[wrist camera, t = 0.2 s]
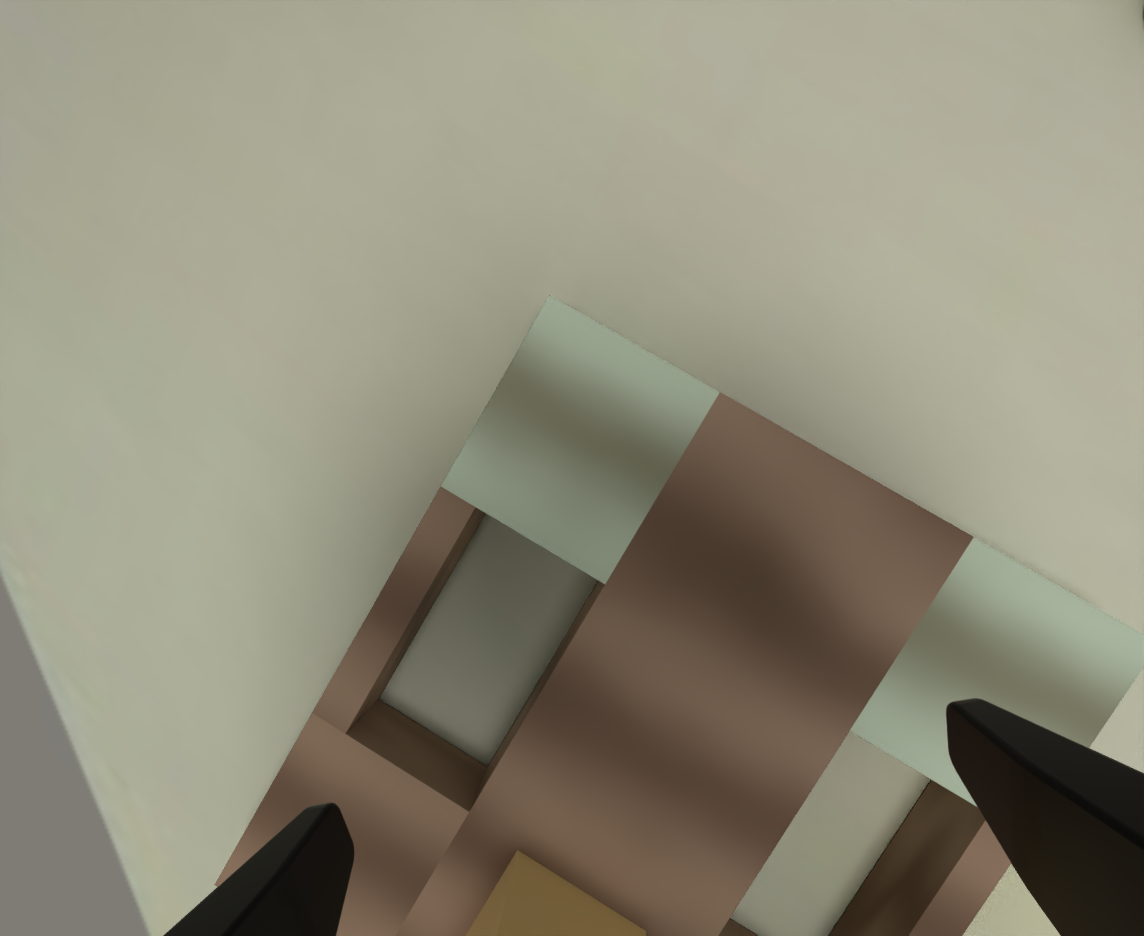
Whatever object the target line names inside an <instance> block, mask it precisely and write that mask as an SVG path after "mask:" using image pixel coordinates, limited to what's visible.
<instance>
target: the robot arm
mask: <svg viewBox="0 0 1144 936" xmlns="http://www.w3.org/2000/svg"><path fill="white" fill-rule="evenodd" d="M946 723H947V739H948V752H949V756H950V759H951V762H952V764H953V766H954V769H955V770H956V772H957V774H958V775H959V777H960V779H961V780H962V782H963V784H964V785H965V787H966V789H967V790H968V792H969V794H970V795H971V797H972V799H973V800H974V802H975V804H976V805H977V807H978V809H979V810H980V812H981V814H982V815H983V817H984V819H985V820H986V822H987V824H988V825H989V827H990V829H991V830H992V832H993V834H994V835H995V837H996V839H997V840H998V842H999V843H1000V845H1001V847H1002V848H1003V850H1004V852H1005V853H1006V855H1007V857H1008V858H1009V860H1010V862H1011V863H1012V865H1013V867H1014V868H1015V870H1016V871H1017V873H1018V875H1019V876H1020V878H1021V879H1022V881H1023V883H1024V884H1025V886H1026V887H1027V889H1028V890H1029V892H1030V893H1031V895H1032V896H1033V897H1034V899H1035V900H1036V902H1037V903H1038V905H1039V906H1040V907H1041V909H1042V910H1043V912H1044V913H1045V914H1046V916H1047V917H1048V918H1049V920H1050V921H1051V923H1052V924H1053V925H1054V927H1055V928H1056V929H1057V931H1058V932H1059V934H1060V935H1061V936H1144V773H1142V772H1140V771H1138V770H1136V769H1133V768H1131V767H1129V766H1127V765H1125V764H1122V763H1120V762H1118V761H1116V760H1114V759H1112V758H1109V757H1107V756H1105V755H1103V754H1101V753H1099V752H1096V751H1094V750H1092V749H1090V748H1088V747H1086V746H1083V745H1081V744H1079V743H1077V742H1075V741H1072V740H1070V739H1068V738H1066V737H1064V736H1062V735H1059V734H1057V733H1055V732H1053V731H1051V730H1049V729H1046V728H1044V727H1042V726H1040V725H1038V724H1035V723H1033V722H1031V721H1029V720H1027V719H1025V718H1022V717H1020V716H1018V715H1016V714H1014V713H1012V712H1009V711H1007V710H1005V709H1003V708H1001V707H999V706H996V705H994V704H992V703H990V702H988V701H985V700H983V699H979V698H972V699H966V700H959V701H953V702H951V703H949V704H948V705H947V708H946ZM354 855H355V852H354V844H353V840H352V838H351V835H350V833H349V830H348V828H347V825H346V823H345V820H344V818H343V815H342V813H341V810H340V808H339V806H338V805H337V804H335V803H332V802H330V803H324V804H317V805H312V806H309V807H307V808H306V809H304V810H303V811H302V812H301V813H300V814H299V815H297V816H296V817H295V818H294V819H293V820H292V821H291V822H290V823H289V824H287V825H286V826H285V827H284V828H283V829H282V830H281V831H280V832H279V833H277V834H276V835H275V836H274V837H273V838H272V839H271V840H270V841H268V842H267V843H266V844H265V845H264V846H263V847H262V848H261V849H260V850H258V851H257V852H256V853H255V854H254V855H253V856H252V857H251V858H250V859H248V860H247V861H246V862H245V863H244V864H243V865H242V866H241V867H239V868H238V869H237V870H236V871H235V872H234V873H233V874H232V875H231V876H229V877H228V878H227V879H226V880H225V881H224V882H223V883H222V884H220V885H219V886H218V887H217V888H216V889H215V890H214V891H213V892H212V893H210V894H209V895H208V896H207V897H206V898H205V899H204V900H203V901H202V902H200V903H199V904H198V905H197V906H196V907H195V908H194V909H193V910H191V911H190V912H189V913H188V914H187V915H186V916H185V917H184V918H183V919H181V920H180V921H179V922H178V923H177V924H176V925H175V926H174V927H173V928H171V929H170V930H169V931H168V932H167V933H166V934H165V935H164V936H336V935H337V930H338V926H339V922H340V918H341V914H342V909H343V905H344V901H345V897H346V893H347V888H348V884H349V880H350V876H351V871H352V867H353V863H354Z"/></svg>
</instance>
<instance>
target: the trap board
mask: <svg viewBox="0 0 1144 936" xmlns="http://www.w3.org/2000/svg"><path fill="white" fill-rule="evenodd" d="M485 513H486V514H488V515H490V516H491V517H493V518H495V519H496V520H498V521H500V522H501V523H503V524H505V525H506V526H508V527H510V528H511V529H513V530H515V531H516V532H518V533H520V534H521V535H523V536H525V537H526V538H528V539H530V540H531V541H533V542H535V543H536V544H538V545H540V546H541V547H543V548H545V549H546V550H548V551H550V552H551V553H553V554H555V555H557V556H558V557H560V558H562V559H563V560H565V561H567V562H568V563H570V564H572V565H573V566H575V567H577V568H578V569H580V570H582V571H583V572H585V573H587V574H588V575H590V576H592V577H593V578H595V579H597V580H598V582H597V584H596V586H595V587H594V589H593V591H592V592H591V594H590V596H589V597H588V599H587V601H586V602H585V604H584V606H583V608H582V609H581V611H580V613H579V614H578V616H577V618H576V619H575V621H574V623H573V624H572V626H571V628H570V629H569V631H568V633H567V634H566V636H565V638H564V639H563V641H562V643H561V644H560V646H559V648H558V649H557V651H556V653H555V655H554V656H553V658H552V660H551V661H550V663H549V665H548V666H547V668H546V670H545V671H544V673H543V675H542V676H541V678H540V680H539V681H538V683H537V685H536V686H535V688H534V690H533V691H532V693H531V695H530V697H529V698H528V700H527V702H526V703H525V705H524V707H523V708H522V710H521V712H520V713H519V715H518V717H517V718H516V720H515V722H514V723H513V725H512V727H511V728H510V730H509V732H508V733H507V735H506V737H505V738H504V740H503V742H502V744H501V745H500V747H499V749H498V750H497V752H496V754H495V755H494V757H493V759H492V760H491V762H490V764H489V765H488V767H486V766H485V765H483V764H481V763H480V762H478V761H477V760H475V759H473V758H472V757H470V756H469V755H467V754H465V753H464V752H462V751H461V750H459V749H457V748H456V747H454V746H453V745H451V744H449V743H448V742H446V741H445V740H443V739H441V738H440V737H438V736H437V735H435V734H433V733H432V732H430V731H429V730H427V729H425V728H424V727H422V726H420V725H419V724H417V723H416V722H414V721H412V720H411V719H409V718H408V717H406V716H404V715H403V714H401V713H400V712H398V711H396V710H395V709H393V708H392V707H390V706H388V705H387V704H385V703H384V702H382V701H380V700H379V697H380V696H381V694H382V692H383V691H384V689H385V687H386V685H387V684H388V682H389V680H390V678H391V677H392V675H393V673H394V671H395V670H396V668H397V666H398V664H399V663H400V661H401V659H402V658H403V656H404V654H405V652H406V651H407V649H408V647H409V645H410V644H411V642H412V640H413V638H414V637H415V635H416V633H417V631H418V630H419V628H420V626H421V624H422V623H423V621H424V619H425V618H426V616H427V614H428V612H429V611H430V609H431V607H432V605H433V604H434V602H435V600H436V598H437V597H438V595H439V593H440V591H441V590H442V588H443V586H444V585H445V583H446V581H447V579H448V578H449V576H450V574H451V572H452V571H453V569H454V567H455V565H456V564H457V562H458V560H459V558H460V557H461V555H462V553H463V552H464V550H465V548H466V546H467V545H468V543H469V541H470V539H471V538H472V536H473V534H474V532H475V531H476V529H477V527H478V525H479V524H480V522H481V520H482V519H483V517H484V515H485ZM1143 667H1144V634H1142V633H1141V632H1139V631H1137V630H1135V629H1134V628H1132V627H1130V626H1128V625H1127V624H1125V623H1123V622H1121V621H1120V620H1118V619H1116V618H1114V617H1113V616H1111V615H1109V614H1107V613H1106V612H1104V611H1102V610H1100V609H1099V608H1097V607H1095V606H1093V605H1092V604H1090V603H1088V602H1086V601H1085V600H1083V599H1081V598H1079V597H1078V596H1076V595H1074V594H1072V593H1071V592H1069V591H1067V590H1065V589H1064V588H1062V587H1060V586H1058V585H1057V584H1055V583H1053V582H1051V581H1050V580H1048V579H1046V578H1044V577H1043V576H1041V575H1039V574H1037V573H1036V572H1034V571H1032V570H1030V569H1029V568H1027V567H1025V566H1023V565H1022V564H1020V563H1018V562H1016V561H1015V560H1013V559H1011V558H1009V557H1008V556H1006V555H1004V554H1002V553H1001V552H999V551H997V550H995V549H994V548H992V547H990V546H988V545H987V544H985V543H983V542H981V541H980V540H978V539H976V538H974V537H973V536H971V535H969V534H967V533H966V532H964V531H962V530H960V529H959V528H957V527H955V526H953V525H952V524H950V523H948V522H946V521H945V520H943V519H941V518H939V517H938V516H936V515H934V514H932V513H931V512H929V511H927V510H925V509H924V508H922V507H920V506H918V505H917V504H915V503H913V502H911V501H910V500H908V499H906V498H904V497H903V496H901V495H899V494H897V493H896V492H894V491H892V490H890V489H889V488H887V487H885V486H883V485H882V484H880V483H878V482H876V481H875V480H873V479H871V478H869V477H867V476H866V475H864V474H862V473H860V472H859V471H857V470H855V469H853V468H852V467H850V466H848V465H846V464H845V463H843V462H841V461H839V460H838V459H836V458H834V457H832V456H831V455H829V454H827V453H825V452H824V451H822V450H820V449H818V448H817V447H815V446H813V445H811V444H810V443H808V442H806V441H804V440H803V439H801V438H799V437H797V436H796V435H794V434H792V433H790V432H789V431H787V430H785V429H783V428H782V427H780V426H778V425H776V424H775V423H773V422H771V421H769V420H768V419H766V418H764V417H762V416H761V415H759V414H757V413H755V412H754V411H752V410H750V409H748V408H747V407H745V406H743V405H741V404H740V403H738V402H736V401H734V400H733V399H731V398H729V397H727V396H726V395H724V394H722V393H720V392H719V391H717V390H715V389H713V388H712V387H710V386H708V385H706V384H705V383H703V382H701V381H699V380H698V379H696V378H694V377H692V376H691V375H689V374H687V373H685V372H684V371H682V370H680V369H678V368H677V367H675V366H673V365H671V364H670V363H668V362H666V361H664V360H663V359H661V358H659V357H657V356H656V355H654V354H652V353H650V352H649V351H647V350H645V349H643V348H642V347H640V346H638V345H636V344H635V343H633V342H631V341H629V340H628V339H626V338H624V337H622V336H621V335H619V334H617V333H615V332H614V331H612V330H610V329H608V328H607V327H605V326H603V325H601V324H600V323H598V322H596V321H594V320H593V319H591V318H589V317H587V316H586V315H584V314H582V313H580V312H579V311H577V310H575V309H573V308H572V307H570V306H568V305H566V304H565V303H563V302H561V301H559V300H558V299H556V298H554V297H552V296H551V295H549V297H548V298H547V300H546V302H545V304H544V306H543V307H542V309H541V311H540V313H539V314H538V316H537V318H536V320H535V321H534V323H533V325H532V327H531V328H530V330H529V332H528V334H527V335H526V337H525V339H524V341H523V342H522V344H521V346H520V348H519V350H518V351H517V353H516V355H515V357H514V358H513V360H512V362H511V364H510V365H509V367H508V369H507V371H506V372H505V374H504V376H503V378H502V379H501V381H500V383H499V385H498V387H497V388H496V390H495V392H494V394H493V395H492V397H491V399H490V401H489V402H488V404H487V406H486V408H485V409H484V411H483V413H482V415H481V416H480V418H479V420H478V422H477V424H476V425H475V427H474V429H473V431H472V432H471V434H470V436H469V438H468V439H467V441H466V443H465V445H464V446H463V448H462V450H461V452H460V453H459V455H458V457H457V459H456V461H455V462H454V464H453V466H452V468H451V469H450V471H449V473H448V475H447V476H446V478H445V480H444V482H443V483H442V485H441V487H440V489H439V490H438V492H437V494H436V496H435V498H434V499H433V501H432V503H431V505H430V506H429V508H428V510H427V512H426V513H425V515H424V517H423V519H422V520H421V522H420V524H419V526H418V527H417V529H416V531H415V533H414V535H413V536H412V538H411V540H410V542H409V543H408V545H407V547H406V549H405V550H404V552H403V554H402V556H401V557H400V559H399V561H398V563H397V564H396V566H395V568H394V570H393V572H392V573H391V575H390V577H389V579H388V580H387V582H386V584H385V586H384V587H383V589H382V591H381V593H380V594H379V596H378V598H377V600H376V601H375V603H374V605H373V607H372V608H371V610H370V612H369V614H368V616H367V617H366V619H365V621H364V623H363V624H362V626H361V628H360V630H359V631H358V633H357V635H356V637H355V638H354V640H353V642H352V644H351V645H350V647H349V649H348V651H347V653H346V654H345V656H344V658H343V660H342V661H341V663H340V665H339V667H338V668H337V670H336V672H335V674H334V675H333V677H332V679H331V681H330V682H329V684H328V686H327V688H326V690H325V691H324V693H323V695H322V697H321V698H320V700H319V702H318V704H317V705H316V707H315V709H314V711H313V712H312V714H311V716H310V718H309V719H308V721H307V723H306V725H305V727H304V728H303V730H302V732H301V734H300V735H299V737H298V739H297V741H296V742H295V744H294V746H293V748H292V749H291V751H290V753H289V755H288V756H287V758H286V760H285V762H284V764H283V765H282V767H281V769H280V771H279V772H278V774H277V776H276V778H275V779H274V781H273V783H272V785H271V786H270V788H269V790H268V792H267V793H266V795H265V797H264V799H263V801H262V802H261V804H260V806H259V808H258V809H257V811H256V813H255V815H254V816H253V818H252V820H251V822H250V823H249V825H248V827H247V829H246V830H245V832H244V834H243V836H242V838H241V839H240V841H239V843H238V845H237V846H236V848H235V850H234V852H233V853H232V855H231V857H230V859H229V860H228V862H227V864H226V866H225V867H224V869H223V871H222V873H221V875H220V876H219V878H218V880H217V882H216V883H215V885H216V886H217V887H218V886H219V885H220V884H222V883H223V882H224V881H225V880H226V879H227V878H228V877H229V876H231V875H232V874H233V873H234V872H235V871H236V870H237V869H238V868H239V867H241V866H242V865H243V864H244V863H245V862H246V861H247V860H248V859H250V858H251V857H252V856H253V855H254V854H255V853H256V852H257V851H258V850H260V849H261V848H262V847H263V846H264V845H265V844H266V843H267V842H268V841H270V840H271V839H272V838H273V837H274V836H275V835H276V834H277V833H279V832H280V831H281V830H282V829H283V828H284V827H285V826H286V825H287V824H289V823H290V822H291V821H292V820H293V819H294V818H295V817H296V816H297V815H299V814H300V813H301V812H302V811H303V810H304V809H306V808H307V807H309V806H312V805H317V804H324V803H330V802H332V803H335V804H337V805H338V806H339V808H340V810H341V813H342V815H343V818H344V820H345V823H346V825H347V828H348V830H349V833H350V835H351V838H352V840H353V844H354V852H355V855H354V863H353V867H352V871H351V876H350V880H349V884H348V888H347V893H346V897H345V901H344V905H343V909H342V914H341V918H340V922H339V926H338V930H337V935H336V936H466V934H467V933H468V931H469V929H470V928H471V926H472V924H473V923H474V921H475V919H476V918H477V916H478V914H479V913H480V911H481V910H482V908H483V906H484V905H485V903H486V901H487V900H488V898H489V896H490V895H491V893H492V891H493V890H494V888H495V886H496V885H497V883H498V882H499V880H500V878H501V877H502V875H503V873H504V872H505V870H506V868H507V867H508V865H509V863H510V862H511V860H512V858H513V857H514V855H515V853H516V852H517V850H518V851H520V852H522V853H523V854H525V855H526V856H528V857H530V858H531V859H533V860H534V861H536V862H537V863H539V864H541V865H542V866H544V867H545V868H547V869H549V870H550V871H552V872H553V873H555V874H556V875H558V876H560V877H561V878H563V879H564V880H566V881H568V882H569V883H571V884H572V885H574V886H575V887H577V888H579V889H580V890H582V891H583V892H585V893H587V894H588V895H590V896H591V897H593V898H595V899H596V900H598V901H599V902H601V903H602V904H604V905H606V906H607V907H609V908H610V909H612V910H614V911H615V912H617V913H618V914H620V915H621V916H623V917H625V918H626V919H628V920H629V921H631V922H633V923H634V924H636V925H637V926H639V927H640V928H642V929H644V930H645V931H646V936H757V935H755V934H754V933H752V932H751V931H749V930H747V929H746V928H744V927H743V926H741V925H739V924H738V923H736V922H735V921H733V920H731V919H730V917H731V915H732V913H733V912H734V910H735V909H736V907H737V906H738V904H739V903H740V901H741V899H742V898H743V896H744V895H745V893H746V892H747V890H748V889H749V887H750V885H751V884H752V882H753V881H754V879H755V878H756V876H757V874H758V873H759V871H760V870H761V868H762V867H763V865H764V864H765V862H766V860H767V859H768V857H769V856H770V854H771V853H772V851H773V850H774V848H775V846H776V845H777V843H778V842H779V840H780V839H781V837H782V835H783V834H784V832H785V831H786V829H787V828H788V826H789V825H790V823H791V821H792V820H793V818H794V817H795V815H796V814H797V812H798V811H799V809H800V807H801V806H802V804H803V803H804V801H805V800H806V798H807V797H808V795H809V793H810V792H811V790H812V789H813V787H814V786H815V784H816V782H817V781H818V779H819V778H820V776H821V775H822V773H823V772H824V770H825V768H826V767H827V765H828V764H829V762H830V761H831V759H832V758H833V756H834V754H835V753H836V751H837V750H838V748H839V747H840V745H841V743H842V742H843V740H844V739H845V737H846V736H847V734H848V733H849V731H851V732H853V733H854V734H856V735H858V736H859V737H861V738H863V739H864V740H866V741H868V742H869V743H871V744H873V745H874V746H876V747H878V748H879V749H881V750H883V751H884V752H886V753H888V754H889V755H891V756H893V757H894V758H896V759H898V760H900V761H901V762H903V763H905V764H906V765H908V766H910V767H911V768H913V769H915V770H916V771H918V772H920V773H921V774H923V775H925V776H926V777H928V778H930V779H931V781H930V783H929V784H928V786H927V787H926V789H925V790H924V792H923V794H922V795H921V797H920V798H919V800H918V801H917V803H916V804H915V806H914V807H913V809H912V810H911V812H910V813H909V815H908V816H907V818H906V819H905V821H904V822H903V824H902V825H901V827H900V829H899V830H898V832H897V833H896V835H895V836H894V838H893V839H892V841H891V842H890V844H889V845H888V847H887V848H886V850H885V851H884V853H883V854H882V856H881V857H880V859H879V861H878V862H877V864H876V865H875V867H874V868H873V870H872V871H871V873H870V874H869V876H868V877H867V879H866V880H865V882H864V883H863V885H862V886H861V888H860V889H859V891H858V892H857V894H856V896H855V897H854V899H853V900H852V902H851V903H850V905H849V906H848V908H847V909H846V911H845V912H844V914H843V915H842V917H841V918H840V920H839V921H838V923H837V924H836V926H835V928H834V929H833V931H832V932H831V934H830V935H829V936H962V935H963V934H964V932H965V931H966V929H967V928H968V926H969V925H970V923H971V922H972V920H973V919H974V917H975V916H976V914H977V913H978V912H979V910H980V909H981V907H982V906H983V904H984V903H985V901H986V900H987V898H988V897H989V895H990V894H991V892H992V891H993V889H994V888H995V886H996V885H997V883H998V882H999V880H1000V879H1001V877H1002V876H1003V874H1004V873H1005V872H1006V870H1007V869H1008V867H1009V866H1010V864H1011V862H1010V860H1009V858H1008V857H1007V855H1006V853H1005V852H1004V850H1003V848H1002V847H1001V845H1000V843H999V842H998V840H997V839H996V837H995V835H994V834H993V832H992V830H991V829H990V827H989V825H988V824H987V822H986V820H985V819H984V817H983V815H982V814H981V812H980V810H979V809H978V807H977V805H976V804H975V802H974V800H973V799H972V797H971V795H970V794H969V792H968V790H967V789H966V787H965V785H964V784H963V782H962V780H961V779H960V777H959V775H958V774H957V772H956V770H955V769H954V766H953V764H952V762H951V759H950V756H949V752H948V739H947V723H946V708H947V705H948V704H949V703H951V702H953V701H959V700H966V699H972V698H979V699H983V700H985V701H988V702H990V703H992V704H994V705H996V706H999V707H1001V708H1003V709H1005V710H1007V711H1009V712H1012V713H1014V714H1016V715H1018V716H1020V717H1022V718H1025V719H1027V720H1029V721H1031V722H1033V723H1035V724H1038V725H1040V726H1042V727H1044V728H1046V729H1049V730H1051V731H1053V732H1055V733H1057V734H1059V735H1062V736H1064V737H1066V738H1068V739H1070V740H1072V741H1075V742H1077V743H1079V744H1081V745H1083V746H1086V747H1088V748H1089V747H1090V746H1091V744H1092V743H1093V741H1094V740H1095V738H1096V737H1097V735H1098V734H1099V732H1100V731H1101V729H1102V728H1103V726H1104V725H1105V723H1106V722H1107V720H1108V719H1109V717H1110V716H1111V714H1112V713H1113V712H1114V710H1115V709H1116V707H1117V706H1118V704H1119V703H1120V701H1121V700H1122V698H1123V697H1124V695H1125V694H1126V692H1127V691H1128V689H1129V688H1130V686H1131V685H1132V683H1133V682H1134V680H1135V679H1136V677H1137V676H1138V674H1139V673H1140V672H1141V670H1142V669H1143Z"/></svg>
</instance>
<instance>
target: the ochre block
mask: <svg viewBox="0 0 1144 936" xmlns="http://www.w3.org/2000/svg"><path fill="white" fill-rule="evenodd" d="M466 936H646V931H645V930H644V929H642V928H640V927H639V926H637V925H636V924H634V923H633V922H631V921H629V920H628V919H626V918H625V917H623V916H621V915H620V914H618V913H617V912H615V911H614V910H612V909H610V908H609V907H607V906H606V905H604V904H602V903H601V902H599V901H598V900H596V899H595V898H593V897H591V896H590V895H588V894H587V893H585V892H583V891H582V890H580V889H579V888H577V887H575V886H574V885H572V884H571V883H569V882H568V881H566V880H564V879H563V878H561V877H560V876H558V875H556V874H555V873H553V872H552V871H550V870H549V869H547V868H545V867H544V866H542V865H541V864H539V863H537V862H536V861H534V860H533V859H531V858H530V857H528V856H526V855H525V854H523V853H522V852H520V851H518V850H517V852H516V853H515V855H514V857H513V858H512V860H511V862H510V863H509V865H508V867H507V868H506V870H505V872H504V873H503V875H502V877H501V878H500V880H499V882H498V883H497V885H496V886H495V888H494V890H493V891H492V893H491V895H490V896H489V898H488V900H487V901H486V903H485V905H484V906H483V908H482V910H481V911H480V913H479V914H478V916H477V918H476V919H475V921H474V923H473V924H472V926H471V928H470V929H469V931H468V933H467V934H466Z"/></svg>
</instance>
